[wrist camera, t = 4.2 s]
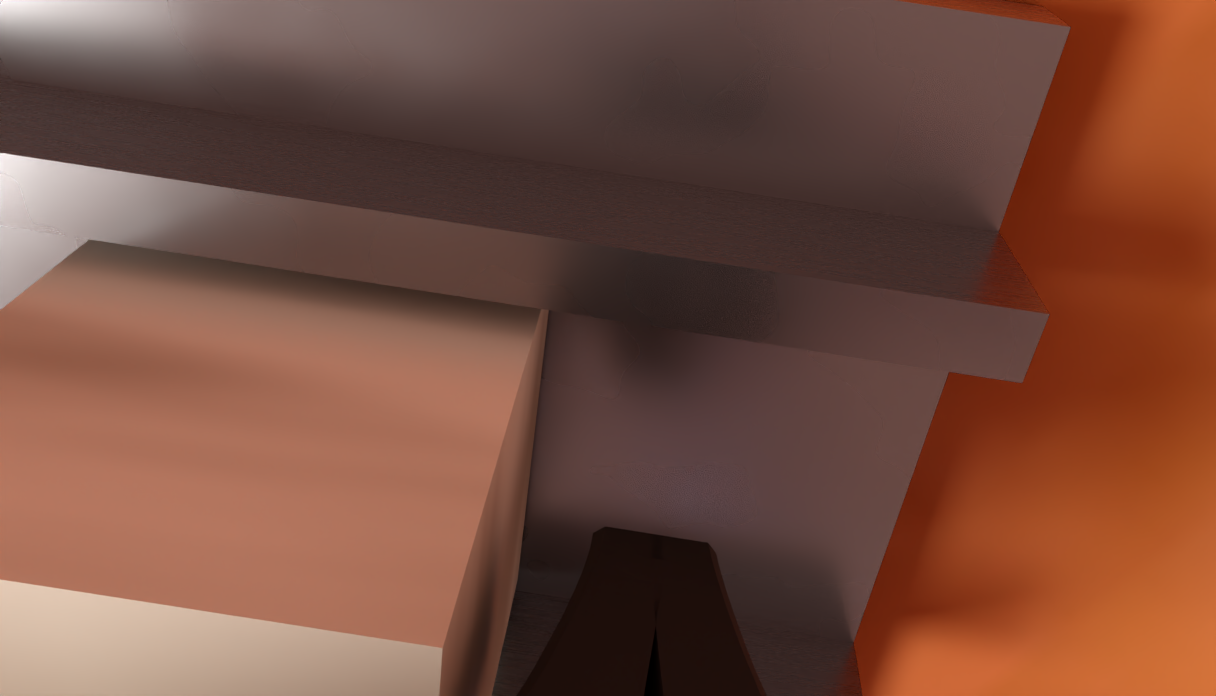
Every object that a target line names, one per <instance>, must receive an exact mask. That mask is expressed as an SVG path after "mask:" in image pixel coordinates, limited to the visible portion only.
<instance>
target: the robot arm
mask: <svg viewBox="0 0 1216 696" xmlns="http://www.w3.org/2000/svg"><path fill="white" fill-rule="evenodd" d="M516 696H767V695H766V693H765V691H764V688H763V686H762V684H761V682H760V679H759V677H758V675H757V672H756V670H755V668H754V665H753V663H752V660H751V658H750V655H749V653H748V650H747V648H746V645H745V642H744V640H743V637H742V634H741V631H740V629H739V626H738V623H737V621H736V618H735V615H734V612H733V609H732V606H731V603H730V600H729V597H728V594H727V591H726V588H725V585H724V581H723V578H722V574H721V571H720V567H719V563H718V559H717V555H716V552H715V551H714V550H713V548H712V547H711V546H710V545H709V543H707V542H700V541H694V540H688V539H681V538H675V537H669V536H663V535H656V534H650V533H644V532H637V531H631V530H625V529H618V528H612V527H606V526H605V527H603V528H601V529H600V530H598V531H596V532H594V533H593V536H592V541H591V546H590V550H589V553H588V556H587V559H586V562H585V565H584V568H583V571H582V573H581V576H580V578H579V581H578V583H577V585H576V588H575V590H574V592H573V594H572V596H571V599H570V601H569V603H568V605H567V607H566V609H565V611H564V613H563V615H562V617H561V619H560V621H559V623H558V625H557V627H556V628H555V630H554V632H553V634H552V636H551V638H550V639H549V641H548V643H547V645H546V647H545V648H544V650H543V652H542V654H541V656H540V658H539V659H538V661H537V663H536V665H535V667H534V668H533V670H532V672H531V673H530V675H529V677H528V678H527V680H526V682H525V683H524V685H523V686H522V688H521V689H520V691H519V692H518V694H517V695H516Z"/></svg>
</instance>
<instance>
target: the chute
mask: <svg viewBox="0 0 1216 696" xmlns="http://www.w3.org/2000/svg"><path fill="white" fill-rule="evenodd" d="M1070 28H1071V27H1070V26H1069V25H1067V24H1066V23H1065V22H1063V21H1062V20H1061V19H1059V18H1058V17H1057V16H1055V15H1054V14H1053V13H1051V12H1050V11H1049V10H1047V9H1046V8H1045V7H1043V6H1038V5H1031V4H1025V3H1018V2H1012V1H1005V0H0V310H1V309H2V308H4V307H5V306H6V305H7V304H9V303H10V302H11V301H12V300H14V299H15V298H16V297H17V296H19V295H20V294H21V293H22V292H24V291H25V290H26V289H28V288H29V287H30V286H31V285H33V284H34V283H35V282H36V281H38V280H39V279H40V278H41V277H43V276H44V275H45V274H46V273H48V272H49V271H50V270H51V269H53V268H54V267H55V266H57V265H58V264H59V263H60V262H62V261H63V260H64V259H65V258H67V257H68V256H69V255H70V254H72V253H73V252H74V251H75V250H77V249H78V248H79V247H81V246H82V245H83V244H84V243H86V242H87V241H88V240H89V239H90V240H96V241H103V242H109V243H116V244H122V245H129V246H135V247H142V248H148V249H155V250H161V251H168V252H174V253H181V254H187V255H194V256H200V257H207V258H213V259H220V260H226V261H232V262H239V263H245V264H252V265H258V266H265V267H271V268H278V269H284V270H291V271H297V272H304V273H310V274H317V275H323V276H330V277H336V278H343V279H349V280H356V281H362V282H369V283H375V284H382V285H388V286H395V287H401V288H408V289H414V290H421V291H427V292H434V293H440V294H447V295H453V296H460V297H466V298H473V299H479V300H486V301H492V302H499V303H505V304H511V305H518V306H524V307H531V308H537V309H544V310H549V312H548V321H547V329H546V338H545V347H544V355H543V364H542V373H541V381H540V390H539V399H538V407H537V416H536V425H535V433H534V442H533V451H532V459H531V468H530V477H529V485H528V494H527V503H526V511H525V520H524V529H523V537H522V546H521V555H520V563H519V572H518V580H517V585H516V589H515V594H514V598H513V602H512V607H511V611H510V616H509V620H508V625H507V629H506V634H505V638H504V642H503V647H502V651H501V656H500V660H499V665H498V669H497V674H496V678H495V682H494V687H493V691H492V696H516V695H517V694H518V692H519V691H520V689H521V688H522V686H523V685H524V683H525V682H526V680H527V678H528V677H529V675H530V673H531V672H532V670H533V668H534V667H535V665H536V663H537V661H538V659H539V658H540V656H541V654H542V652H543V650H544V648H545V647H546V645H547V643H548V641H549V639H550V638H551V636H552V634H553V632H554V630H555V628H556V627H557V625H558V623H559V621H560V619H561V617H562V615H563V613H564V611H565V609H566V607H567V605H568V603H569V601H570V599H571V596H572V594H573V592H574V590H575V588H576V585H577V583H578V581H579V578H580V576H581V573H582V571H583V568H584V565H585V562H586V559H587V556H588V553H589V550H590V546H591V541H592V536H593V533H594V532H596V531H598V530H600V529H601V528H603V527H605V526H606V527H612V528H618V529H625V530H631V531H637V532H644V533H650V534H656V535H663V536H669V537H675V538H681V539H688V540H694V541H700V542H707V543H709V545H710V546H711V547H712V548H713V550H714V551H715V552H716V555H717V559H718V563H719V567H720V571H721V574H722V578H723V581H724V585H725V588H726V591H727V594H728V597H729V600H730V603H731V606H732V609H733V612H734V615H735V618H736V621H737V623H738V626H739V629H740V631H741V634H742V637H743V640H744V642H745V645H746V648H747V650H748V653H749V655H750V658H751V660H752V663H753V665H754V668H755V670H756V672H757V675H758V677H759V679H760V682H761V684H762V686H763V688H764V691H765V693H766V695H767V696H862V691H861V685H860V679H859V673H858V667H857V661H856V655H855V649H854V643H853V642H854V639H855V637H856V634H857V631H858V628H859V625H860V622H861V620H862V617H863V614H864V611H865V608H866V605H867V603H868V600H869V597H870V594H871V591H872V588H873V586H874V583H875V580H876V577H877V574H878V571H879V569H880V566H881V563H882V560H883V557H884V554H885V552H886V549H887V546H888V543H889V540H890V537H891V535H892V532H893V529H894V526H895V523H896V521H897V518H898V515H899V512H900V509H901V506H902V504H903V501H904V498H905V495H906V492H907V489H908V487H909V484H910V481H911V478H912V475H913V472H914V470H915V467H916V464H917V461H918V458H919V455H920V453H921V450H922V447H923V444H924V441H925V438H926V436H927V433H928V430H929V427H930V424H931V421H932V419H933V416H934V413H935V410H936V407H937V404H938V402H939V399H940V396H941V393H942V390H943V387H944V385H945V382H946V379H947V376H948V373H949V372H953V373H959V374H966V375H972V376H979V377H985V378H992V379H998V380H1005V381H1011V382H1018V383H1022V382H1023V380H1024V377H1025V375H1026V372H1027V370H1028V367H1029V365H1030V362H1031V360H1032V357H1033V355H1034V352H1035V350H1036V347H1037V345H1038V342H1039V340H1040V337H1041V335H1042V332H1043V330H1044V327H1045V325H1046V322H1047V320H1048V317H1049V315H1050V314H1049V312H1048V311H1047V309H1046V307H1045V306H1044V304H1043V303H1042V301H1041V299H1040V298H1039V296H1038V294H1037V293H1036V291H1035V290H1034V288H1033V286H1032V285H1031V283H1030V282H1029V280H1028V278H1027V277H1026V275H1025V273H1024V272H1023V270H1022V269H1021V267H1020V265H1019V264H1018V262H1017V260H1016V259H1015V257H1014V256H1013V254H1012V252H1011V251H1010V249H1009V247H1008V246H1007V244H1006V243H1005V241H1004V239H1003V238H1002V236H1001V234H1000V233H999V229H1000V226H1001V223H1002V221H1003V218H1004V215H1005V212H1006V209H1007V206H1008V204H1009V201H1010V198H1011V195H1012V192H1013V189H1014V187H1015V184H1016V181H1017V178H1018V175H1019V172H1020V170H1021V167H1022V164H1023V161H1024V158H1025V155H1026V153H1027V150H1028V147H1029V144H1030V141H1031V138H1032V136H1033V133H1034V130H1035V127H1036V124H1037V121H1038V119H1039V116H1040V113H1041V110H1042V107H1043V105H1044V102H1045V99H1046V96H1047V93H1048V90H1049V88H1050V85H1051V82H1052V79H1053V76H1054V73H1055V71H1056V68H1057V65H1058V62H1059V59H1060V56H1061V54H1062V51H1063V48H1064V45H1065V42H1066V39H1067V37H1068V34H1069V31H1070Z"/></svg>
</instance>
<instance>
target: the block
mask: <svg viewBox="0 0 1216 696" xmlns="http://www.w3.org/2000/svg"><path fill="white" fill-rule="evenodd" d="M548 312H549V310H544V309H537V308H531V307H524V306H518V305H511V304H505V303H499V302H492V301H486V300H479V299H473V298H466V297H460V296H453V295H447V294H440V293H434V292H427V291H421V290H414V289H408V288H401V287H395V286H388V285H382V284H375V283H369V282H362V281H356V280H349V279H343V278H336V277H330V276H323V275H317V274H310V273H304V272H297V271H291V270H284V269H278V268H271V267H265V266H258V265H252V264H245V263H239V262H232V261H226V260H220V259H213V258H207V257H200V256H194V255H187V254H181V253H174V252H168V251H161V250H155V249H148V248H142V247H135V246H129V245H122V244H116V243H109V242H103V241H96V240H90V239H89V240H88V241H87V242H86V243H84V244H83V245H82V246H81V247H79V248H78V249H77V250H75V251H74V252H73V253H72V254H70V255H69V256H68V257H67V258H65V259H64V260H63V261H62V262H60V263H59V264H58V265H57V266H55V267H54V268H53V269H51V270H50V271H49V272H48V273H46V274H45V275H44V276H43V277H41V278H40V279H39V280H38V281H36V282H35V283H34V284H33V285H31V286H30V287H29V288H28V289H26V290H25V291H24V292H22V293H21V294H20V295H19V296H17V297H16V298H15V299H14V300H12V301H11V302H10V303H9V304H7V305H6V306H5V307H4V308H2V309H1V310H0V696H492V691H493V687H494V682H495V678H496V674H497V669H498V665H499V660H500V656H501V651H502V647H503V642H504V638H505V634H506V629H507V625H508V620H509V616H510V611H511V607H512V602H513V598H514V594H515V589H516V585H517V580H518V572H519V563H520V555H521V546H522V537H523V529H524V520H525V511H526V503H527V494H528V485H529V477H530V468H531V459H532V451H533V442H534V433H535V425H536V416H537V407H538V399H539V390H540V381H541V373H542V364H543V355H544V347H545V338H546V329H547V321H548Z"/></svg>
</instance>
